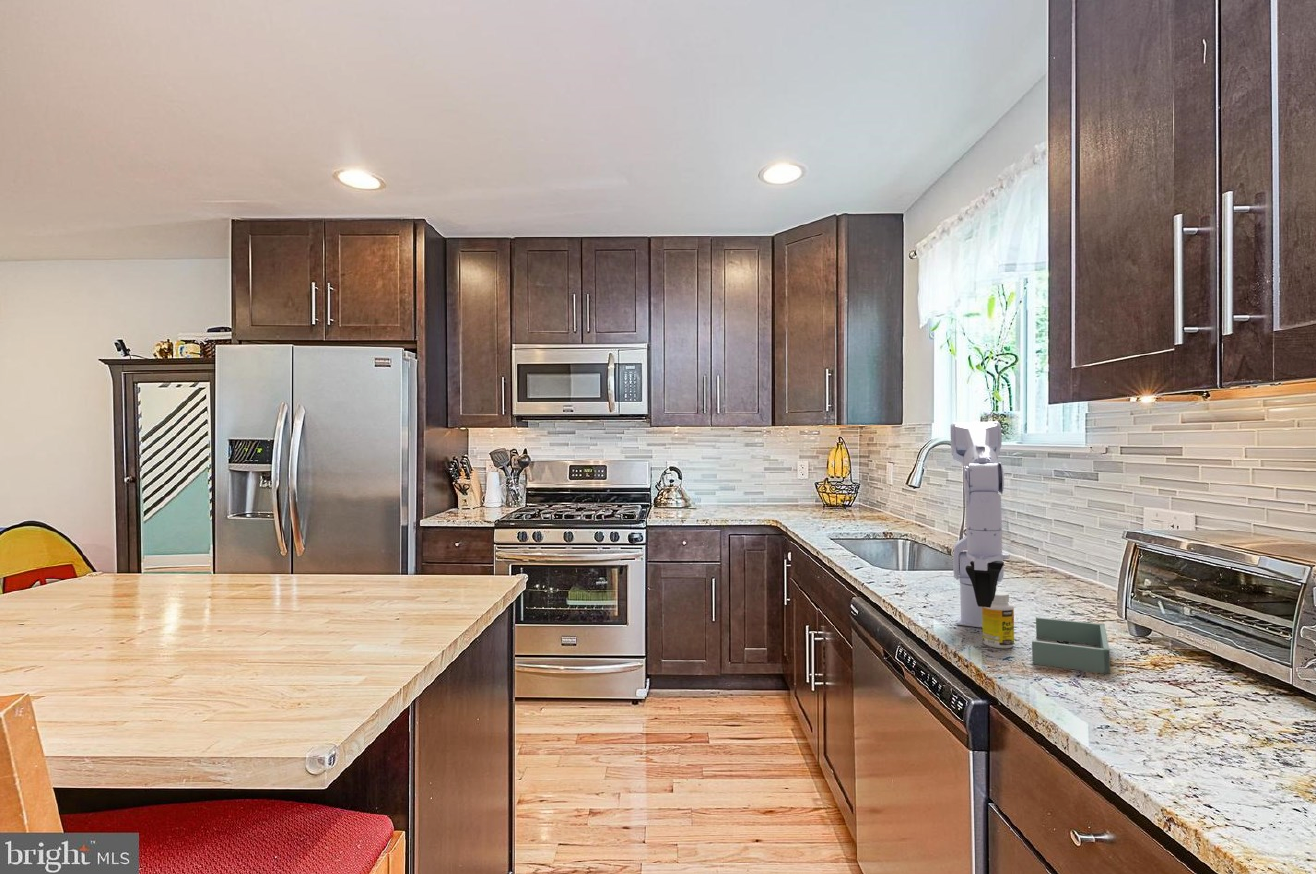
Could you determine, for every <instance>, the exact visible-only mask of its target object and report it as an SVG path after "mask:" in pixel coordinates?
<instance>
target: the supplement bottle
mask: <svg viewBox="0 0 1316 874" xmlns="http://www.w3.org/2000/svg"><path fill="white" fill-rule="evenodd" d="M1009 594H1010V593H1008V592H1006V591H1002V590H997V591H996V592H995V597H994V600H993V601H992V604H991V607H990V608H989V607H982V627H981V629H982V642H983V644H984V645H986V646H987V647H990V648H994V649H1011V648H1013V647H1014V646H1015V620H1014V619H1015V614H1014V613H1015V611H1014V605H1013V604H1012V602H1010V595H1009Z"/></svg>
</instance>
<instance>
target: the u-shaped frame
mask: <svg viewBox="0 0 1316 874" xmlns="http://www.w3.org/2000/svg"><path fill="white" fill-rule="evenodd" d="M1035 626H1036V627H1035V636H1036V637H1035V638H1036V639H1042V640H1048V641H1040V640H1034V639H1033V640H1031V656H1032V665H1038V666H1039V665H1040V666H1046V667H1055V668H1062V669H1068V670H1077V671H1084V672H1091V673H1100V674H1107V675H1111V655H1110V654H1111V653H1110V651H1111V650H1110V647H1109V645H1110V644H1109V640H1108V634H1107V629H1106V625H1105V624H1104V623H1097V622H1087V621H1086V622H1085V621H1077V620H1076V621H1075V620H1066V619H1058V618H1046V617H1037V616H1036V617H1035ZM1049 640H1051V641H1059V642H1060V641H1061V642H1070V643H1078V644H1085V645H1093V646H1099V647H1100V648H1099V647H1092V646H1083V645H1075V644H1068V643H1067V644H1065V643H1058V642H1049Z"/></svg>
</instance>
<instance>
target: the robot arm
mask: <svg viewBox="0 0 1316 874" xmlns="http://www.w3.org/2000/svg"><path fill="white" fill-rule="evenodd" d="M1002 435H1003V434H1002V425H1001V423H1000V422H999V421H997V420H994V421H972V422H971V421H970V422H969V421H968V422H956V421H953V422H952V423H950V449H951V456H952V460H955V461H957V462H960V463H961V465H962V467H963V469H962V470H963V471H962V475H963V476H962V477H963V483H962V484H963V491H964V496H965V497H964V498H965V526H966V527H965V530H966V533H965V534H966V535H965V536H964V537H963V538H961V539H960V540H958V541H957V542H955V543H954V545H953V553H952V568H953V570H952V573H953V578H954V579H955V580H957V581H959V587H960V588H959V589H960V590H959V591H960V594H959V595H960V597H959V598H960V599H959V600H960V617H959V618H958V620H957V622H956V625H958V626H965V627H974V628H975V627H976V628H982V607H989V608H990V607H991V604H992V601H993V600H994V597H995V592H996V591H998V590H997V586H998V583H1001V582H1002V581H1003V580H1004V575H1005V574H1004V573H1005V572H1004V570H1005V569H1004V565H1005V562H1004V559H1005V560H1009V559H1010V557H1011V556H1010V553H1007V552H1006V553H1003V536H1002V535H1003V530H1002V526H1003V525H1002V495H1003V492H1004V489H1005V487H1004V486H1005V474H1004V468H1003V465H1002V462H998V458H999V456H1000V452H1001V449H1002V441H1003V440H1002V437H1003V436H1002ZM1000 494H1001V495H1000Z"/></svg>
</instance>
